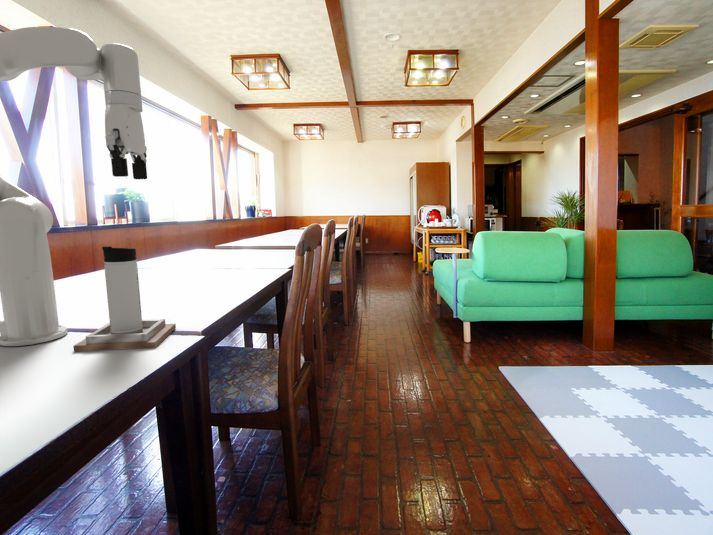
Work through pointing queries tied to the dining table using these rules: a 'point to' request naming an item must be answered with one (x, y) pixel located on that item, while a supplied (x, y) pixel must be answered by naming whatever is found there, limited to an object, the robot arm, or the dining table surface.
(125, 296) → the travel mug
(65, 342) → the dining table surface
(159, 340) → the plate
